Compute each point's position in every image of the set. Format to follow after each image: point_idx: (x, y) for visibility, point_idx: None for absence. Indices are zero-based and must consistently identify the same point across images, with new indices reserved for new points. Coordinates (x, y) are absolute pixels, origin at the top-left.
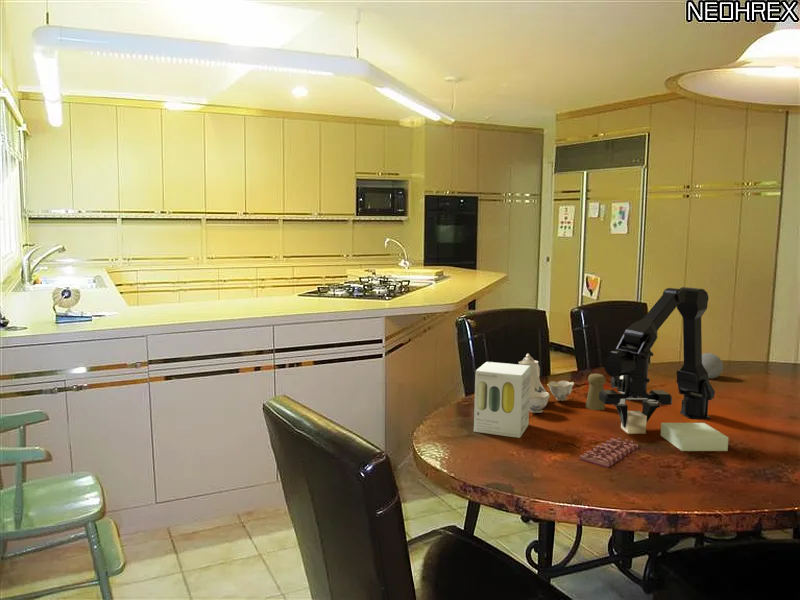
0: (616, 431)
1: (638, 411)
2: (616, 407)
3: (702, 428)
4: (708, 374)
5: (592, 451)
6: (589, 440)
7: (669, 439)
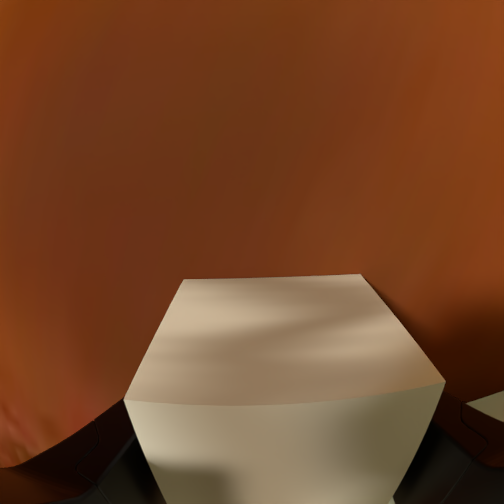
0: (123, 365)
1: (413, 413)
2: (17, 472)
3: None
4: None
5: None
6: (7, 443)
7: None
